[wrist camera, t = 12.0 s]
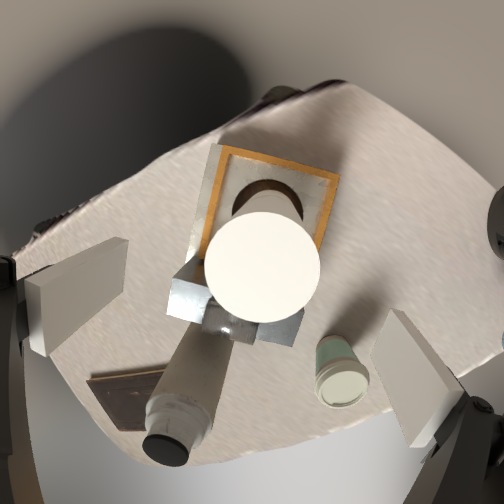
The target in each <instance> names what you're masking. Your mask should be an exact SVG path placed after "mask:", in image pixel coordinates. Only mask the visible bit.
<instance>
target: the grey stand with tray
mask: <svg viewBox="0 0 504 504" xmlns="http://www.w3.org/2000/svg"><path fill="white" fill-rule="evenodd" d="M339 178H340V175H338V174H335V173H332V172H328V171H325V170H321V169H318V168H315V167H311V166H307V165H304V164H300V163H297V162H293V161H289V160H285V159H282V158H278V157H274V156H270V155H266V154H262V153H258V152H253V151H249V150H245V149H241V148H236V147H232V146H227V145H219V144H214V143H212V144H211V148H210V152H209V156H208V160H207V164H206V169H205V173H204V177H203V181H202V186H201V190H200V195H199V199H198V204H197V208H196V213H195V218H194V223H193V227H192V232H191V237H190V242H189V247H188V253H187V258H186V263H185V265H184V266H183V267H182V268H181V269H180V270H179V271H178V272H177V273H176V274H175V275H174V277H173V278H172V284H171V290H170V297H169V303H168V310H167V314H169V315H172V316H175V317H179V318H182V319H185V320H189V321H192V322H196V323H199V324H201V332H204V333H208V334H211V335H215V336H219V337H222V338H226V339H230V340H234V341H238V342H242V343H245V344H249V345H253V344H254V341H255V338H256V339H260V340H264V341H268V342H272V343H277V344H281V345H285V346H290V347H292V346H293V343H294V340H295V338H296V335H297V332H298V329H299V327H300V324H301V321H302V318H303V315H304V307H302V308H301V309H300V310H299V311H298V312H296V313H295V314H293V315H291V316H289V317H287V318H285V319H282V320H279V321H274V322H268V323H262V322H252V321H247V320H244V319H241V318H239V317H237V316H234V315H233V314H231V313H230V312H228V311H227V310H225V309H224V308H223V307H222V306H221V305H220V304H219V303H218V302H217V301H216V299H215V298H214V296H213V295H212V293H211V291H210V289H209V287H208V285H207V281H206V277H205V267H204V263H205V256H206V252H207V249H208V247H209V244H210V242H211V240H212V239H213V237H214V236H215V234H216V233H217V232H218V231H219V230H220V228H221V227H222V226H223V225H224V224H225V223H226V222H227V221H228V220H229V219H230V218H231V217H232V216H233V215H234V214H235V213H236V212H237V211H238V210H239V209H240V208H241V207H242V206H243V205H244V204H245V203H246V202H247V201H248V200H249V199H250V198H251V197H253V196H254V195H255V194H257V193H258V192H261V191H264V190H275V191H279V192H281V193H283V194H284V195H286V196H287V197H288V198H289V199H290V200H291V202H292V204H293V205H294V207H295V209H296V211H297V213H298V214H299V216H300V218H301V220H302V222H303V223H304V225H305V227H306V229H307V231H308V233H309V235H310V236H311V238H312V240H313V242H314V244H315V246H316V249H317V252H319V249H320V246H321V242H322V239H323V236H324V232H325V229H326V225H327V222H328V218H329V215H330V211H331V208H332V204H333V201H334V197H335V193H336V190H337V186H338V182H339Z"/></svg>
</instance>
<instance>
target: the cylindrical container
mask: <svg viewBox="0 0 504 504" xmlns="http://www.w3.org/2000/svg"><path fill="white" fill-rule="evenodd" d="M204 267H205V277H206V281H207V285H208V287H209V289H210V291H211V293H212V295H213V296H214V298H215V299H216V301H217V302H218V303H219V304H220V305H221V306H222V307H223V308H224V309H225V310H227V311H228V312H230V313H231V314H233V315H234V316H237V317H239V318H241V319H244V320H247V321H252V322H262V323H268V322H274V321H279V320H282V319H285V318H287V317H289V316H291V315H293V314H295V313H296V312H298V311H299V310H300V309H301V308H302V307H304V306H305V305H306V303H307V302H308V301H309V300H310V298H311V297H312V295H313V293H314V291H315V289H316V288H317V284H318V280H319V277H320V261H319V255H318V252H317V249H316V246H315V244H314V242H313V240H312V238H311V236H310V235H309V233H308V231H307V229H306V227H305V225H304V223H303V222H302V220H301V218H300V216H299V214H298V213H297V211H296V209H295V207H294V205H293V204H292V202H291V200H290V199H289V198H288V197H287V196H286V195H284V194H283V193H281V192H279V191H275V190H264V191H261V192H258V193H257V194H255V195H254V196H253V197H251V198H250V199H249V200H248V201H247V202H246V203H245V204H244V205H243V206H242V207H241V208H240V209H239V210H238V211H237V212H236V213H235V214H234V215H233V216H232V217H231V218H230V219H229V220H228V221H227V222H226V223H225V224H224V225H223V226H222V227H221V228H220V230H219V231H218V232H217V233H216V234H215V236H214V237H213V239H212V240H211V242H210V244H209V247H208V249H207V252H206V256H205V263H204Z"/></svg>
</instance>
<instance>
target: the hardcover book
mask: <svg viewBox="0 0 504 504" xmlns="http://www.w3.org/2000/svg"><path fill="white" fill-rule="evenodd" d="M164 371H165V369H161V370H155V371H148V372H141V373H134V374H126V375H118V376H109V377H100V378H91V379H90V380H87V381H86V382H87V384H88V385H89V387H90V389H91V390H92V392H93V393H94V395H95V397H96V398H97V400H98V401H99V403H100V404H101V406H102V407H103V409H104V410H105V412H106V413H107V415H108V416H109V417H110V419H111V420H112V422H113V423H114V425H115V426H116V427H117V429H118V430H119V431H147V430H146V428H145V418H146V405H147V402H148V400H149V399H150V397H151V395H152V393H153V391H154V389H155V387H156V386H157V384H158V382H159V380H160V378H161V376H162V375H163V373H164Z"/></svg>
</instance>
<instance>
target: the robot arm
mask: <svg viewBox="0 0 504 504" xmlns="http://www.w3.org/2000/svg"><path fill="white" fill-rule="evenodd" d="M487 230H488V238H489V242H490V245H491V248H492V250H493V251H494V253H495V254H496V255H497V256H498V257H499V258H501V259H502V260H504V186H503V187H502V188H501V189H500V190H499V191H498V192H497V194H496V195H495V197H494V199H493V201H492V203H491V206H490V210H489V214H488V222H487ZM128 241H129V240H126V239H122V238H119V237H113V238H111V239H109V240H106V241H104V242H102V243H100V244H97V245H95V246H93V247H91V248H89V249H86V250H84V251H82V252H80V253H78V254H76V255H73V256H71V257H69V258H67V259H65V260H63V261H61V262H59V263H56V264H53V265H48V266H46V267H44V268H41V269H39V271H38V270H37V271H35V272H33V274H32V273H31V274H29V275H27V276H25V277H23V278H21V279H19V280H17V279H16V261H15V260H14V259H13V258H11V257H8V256H2V255H0V504H44V501H43V497H42V494H41V490H40V486H39V482H38V477H37V473H36V468H35V463H34V458H33V453H32V447H31V440H30V434H29V426H28V419H27V408H26V397H25V380H24V346H23V340H24V338H26V337H28V336H29V339H30V346H31V349H32V350H34V351H35V352H37V353H39V354H41V355H43V356H45V357H47V356H48V355H49V354H50V353H51V352H53V351H54V350H55V349H56V348H57V347H58V346H59V345H60V344H62V343H63V342H64V341H65V340H66V339H67V338H68V337H70V336H71V335H72V334H73V333H74V332H75V331H77V330H78V329H79V328H80V327H81V326H82V325H84V324H85V323H86V322H87V321H88V320H89V319H91V318H92V317H93V316H94V315H95V314H96V313H98V312H99V311H100V310H101V309H102V308H104V307H105V306H106V305H107V304H108V303H110V302H111V301H112V300H113V299H114V298H116V297H117V296H118V295H119V294H121V293H122V292H123V285H124V275H125V266H126V257H127V249H128ZM502 346H503V349H504V333H503V336H502ZM370 356H371V359H372V361H373V363H374V365H375V368H376V370H377V372H378V374H379V377H380V379H381V381H382V383H383V386H384V388H385V390H386V393H387V395H388V397H389V400H390V402H391V405H392V407H393V409H394V412H395V414H396V417H397V419H398V421H399V424H400V426H401V429H402V431H403V433H404V436H405V439H406V441H407V444H408V447H425V446H426V445H427V443H428V442H429V441H430V439H431V438H432V437H433V436H434V437H435V439H436V441H437V443H436V444H435V445H434V447H433V448H432V449H431V450H430V451H429V453H428V454H427V455H426V456H425V457H424V459H423V460H422V461H421V463H424V462H425V463H424V465H423V468H422V469H421V471H420V473H419V475H418V477H417V479H416V481H415V483H414V485H413V487H412V489H411V490H410V492H409V494H408V495H407V497H406V499H405V501H404V503H403V504H504V460H503V461H502V462H501V464H500V465H499V461H500V460H501V458H502V457H503V456H504V414H503V416H500V415H496V414H494V409H493V408H492V406H491V405H490V404H489V403H488V402H487V401H485V400H484V399H482V398H479V397H476V396H472V397H470V396H469V395H468V393H467V392H466V391H465V389H464V388H463V387H462V385H461V384H460V382H458V379H457V378H456V377H455V376H454V374H453V373H452V371H451V370H450V369H449V367H447V366H446V365H445V364H444V362H443V361H442V360H441V358H440V357H439V356H438V354H437V353H436V352H435V351H434V349H433V348H432V347H431V345H430V344H429V343H428V342H427V340H426V339H425V338H424V336H423V335H422V334H421V333H420V331H419V330H418V329H417V328H416V326H415V325H414V324H413V323H412V322H411V320H410V319H409V318H408V317H407V315H406V314H405V313H404V312H403V311H400V310H396V309H391V308H390V311H389V313H388V315H387V318H386V320H385V323H384V325H383V327H382V329H381V332H380V334H379V336H378V338H377V341H376V343H375V345H374V347H373V349H372V351H371V354H370Z"/></svg>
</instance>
